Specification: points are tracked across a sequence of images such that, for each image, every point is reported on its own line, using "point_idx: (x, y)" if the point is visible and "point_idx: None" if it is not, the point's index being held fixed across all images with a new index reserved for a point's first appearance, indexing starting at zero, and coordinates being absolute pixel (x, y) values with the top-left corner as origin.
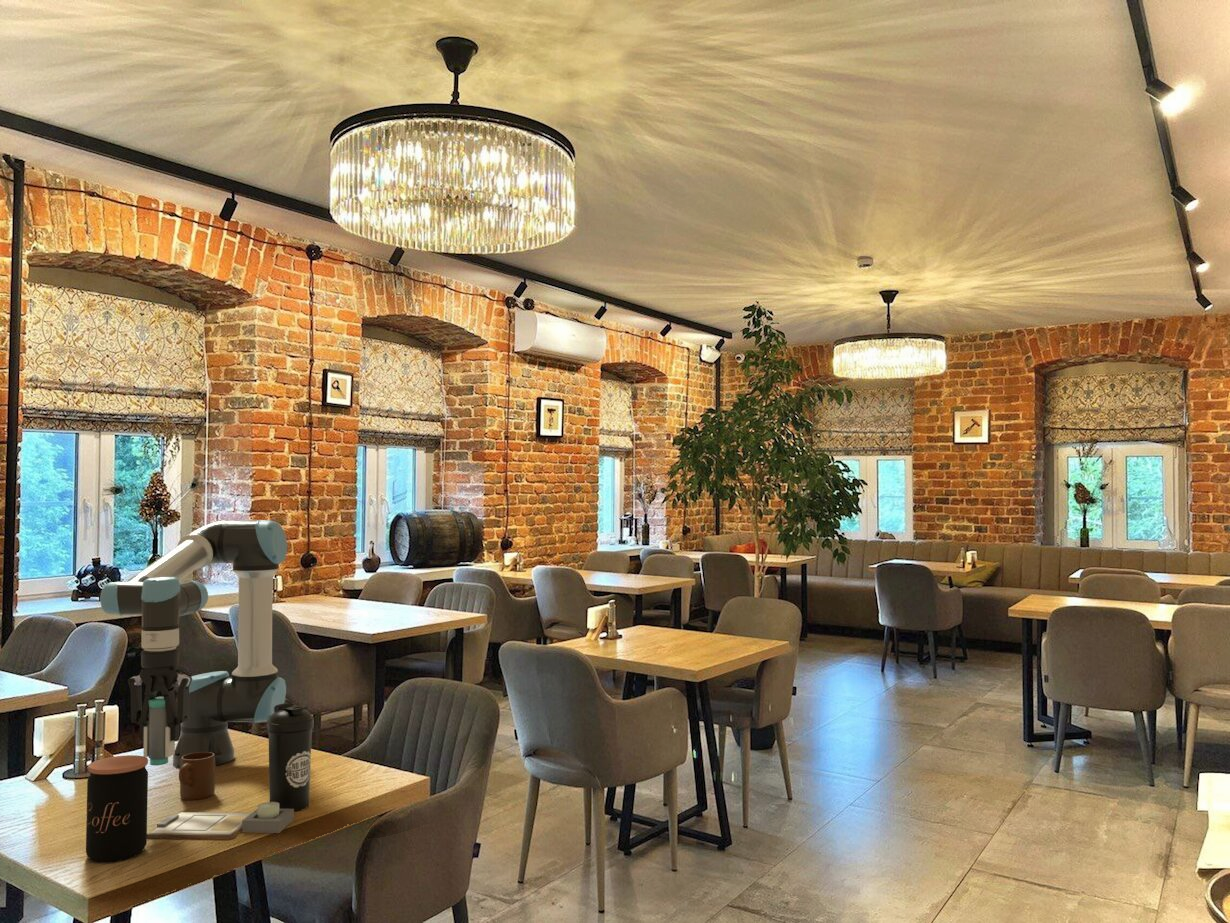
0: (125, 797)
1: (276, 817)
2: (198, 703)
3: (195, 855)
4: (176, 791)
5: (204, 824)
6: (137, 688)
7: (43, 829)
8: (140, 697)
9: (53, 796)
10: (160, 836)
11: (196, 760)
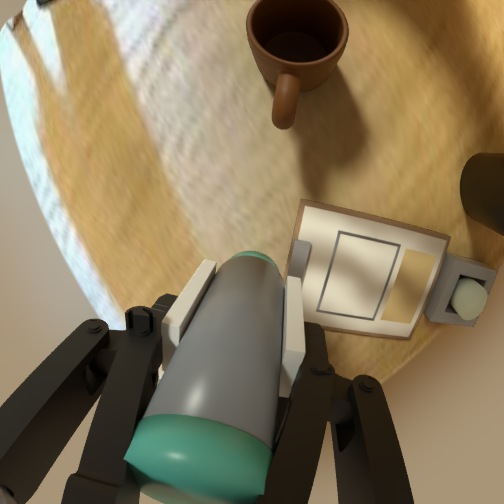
0: None
1: None
2: None
3: None
4: (234, 27)
5: (368, 290)
6: (22, 489)
7: (89, 243)
8: (39, 426)
9: (40, 80)
10: None
11: (309, 66)
